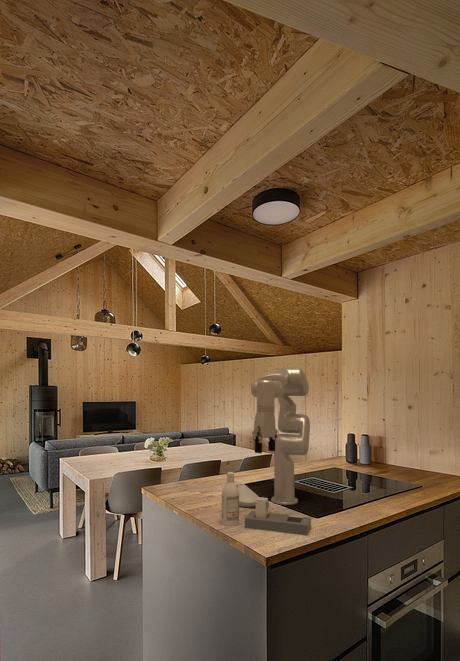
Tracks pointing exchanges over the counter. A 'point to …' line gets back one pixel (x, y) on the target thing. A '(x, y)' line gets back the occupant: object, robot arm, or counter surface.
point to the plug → (262, 507)
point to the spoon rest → (246, 496)
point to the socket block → (279, 523)
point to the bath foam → (230, 502)
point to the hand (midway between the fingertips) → (265, 452)
